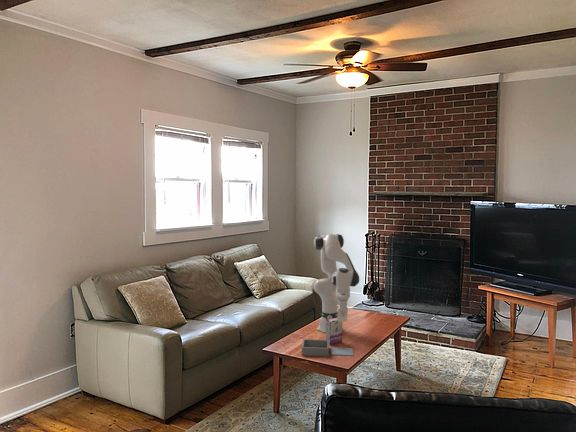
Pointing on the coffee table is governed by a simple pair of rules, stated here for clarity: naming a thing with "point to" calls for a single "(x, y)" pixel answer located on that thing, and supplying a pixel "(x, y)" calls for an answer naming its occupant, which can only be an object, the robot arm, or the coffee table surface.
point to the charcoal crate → (310, 349)
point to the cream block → (340, 315)
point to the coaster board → (342, 351)
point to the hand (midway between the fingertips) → (342, 315)
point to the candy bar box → (334, 331)
